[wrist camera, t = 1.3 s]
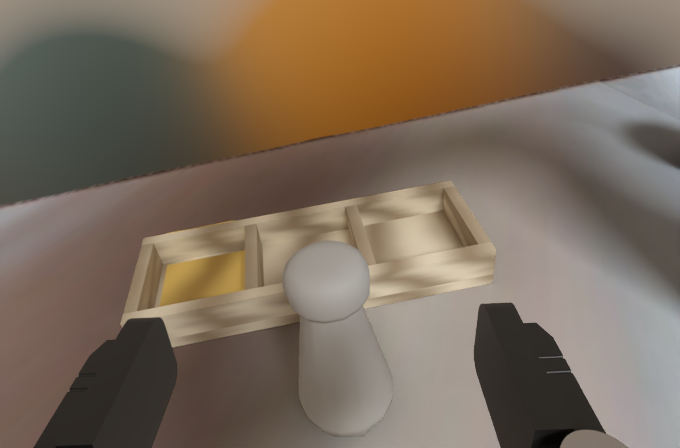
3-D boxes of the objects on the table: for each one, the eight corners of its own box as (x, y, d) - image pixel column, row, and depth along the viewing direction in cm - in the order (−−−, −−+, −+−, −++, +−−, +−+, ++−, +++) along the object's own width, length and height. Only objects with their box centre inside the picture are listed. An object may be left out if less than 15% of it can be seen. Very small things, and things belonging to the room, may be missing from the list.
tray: (448, 208, 46) (449, 178, 44) (492, 283, 38) (496, 250, 35) (158, 264, 44) (144, 235, 42) (138, 354, 36) (120, 324, 34)
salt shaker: (292, 440, 29) (241, 295, 21) (321, 363, 34) (287, 218, 26) (384, 462, 28) (367, 314, 20) (402, 378, 32) (394, 228, 24)
